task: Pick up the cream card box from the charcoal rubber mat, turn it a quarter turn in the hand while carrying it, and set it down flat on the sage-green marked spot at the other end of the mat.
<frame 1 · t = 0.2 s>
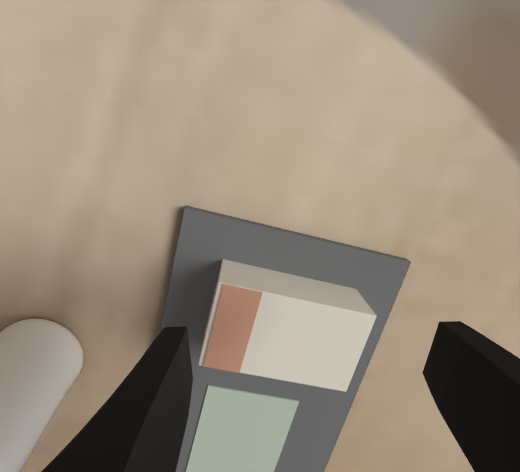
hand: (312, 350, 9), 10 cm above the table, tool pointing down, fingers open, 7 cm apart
mat: (255, 380, 22), on the table
card box: (280, 310, 20), point 1 cm above the table, touching mat
white cylinder: (46, 348, 21), on the table
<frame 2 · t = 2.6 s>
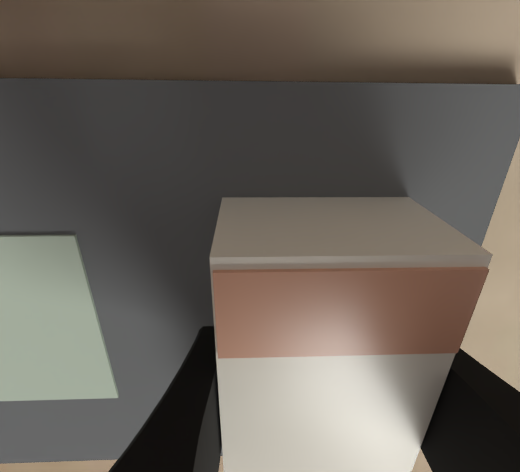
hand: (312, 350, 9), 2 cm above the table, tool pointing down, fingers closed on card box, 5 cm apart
mat: (123, 313, 11), on the table
card box: (305, 322, 10), point 1 cm above the table, touching gripper, mat
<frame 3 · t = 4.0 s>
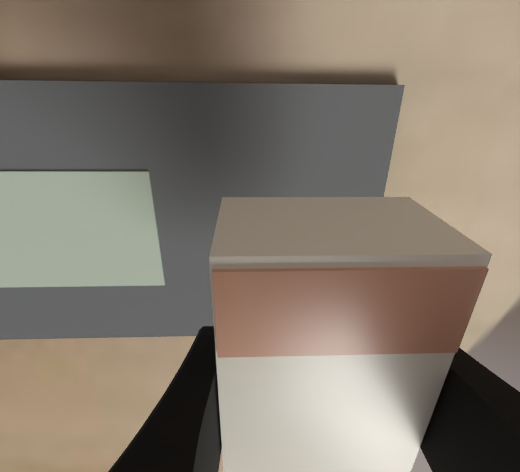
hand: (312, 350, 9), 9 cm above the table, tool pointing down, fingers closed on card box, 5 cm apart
mat: (170, 227, 17), on the table
card box: (305, 322, 10), point 8 cm above the table, touching gripper
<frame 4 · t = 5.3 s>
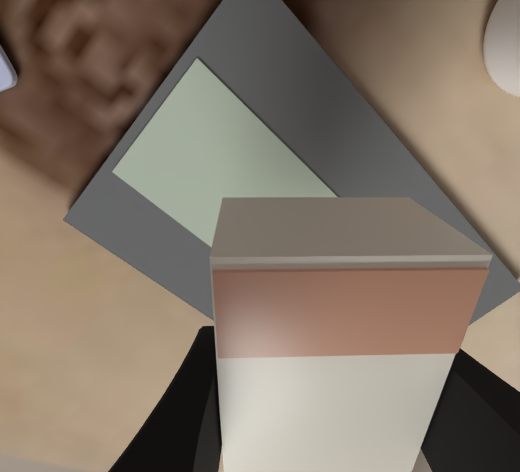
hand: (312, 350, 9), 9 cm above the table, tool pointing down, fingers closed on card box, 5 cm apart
mat: (310, 251, 18), on the table
card box: (305, 322, 10), point 8 cm above the table, touching gripper
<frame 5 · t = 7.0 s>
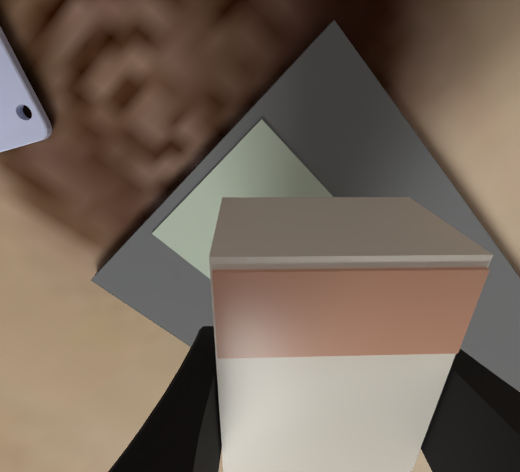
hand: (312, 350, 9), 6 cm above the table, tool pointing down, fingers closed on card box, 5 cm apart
mat: (357, 316, 16), on the table
card box: (305, 322, 10), point 5 cm above the table, touching gripper
when the fingers open (3 cm above the table, at t = 8.2 s): card box drops 1 cm, resting on mat.
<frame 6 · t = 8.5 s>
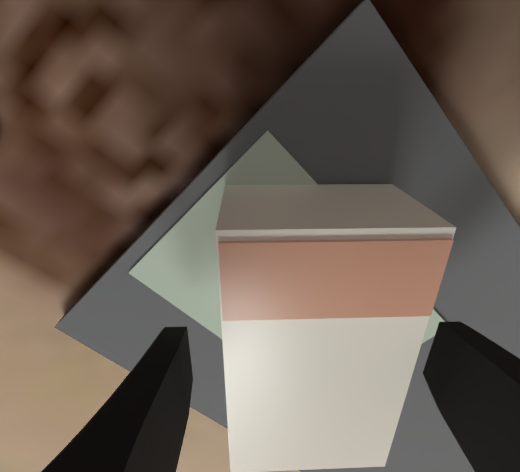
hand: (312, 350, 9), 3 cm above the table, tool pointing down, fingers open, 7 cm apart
mat: (380, 362, 14), on the table
card box: (300, 300, 11), point 1 cm above the table, touching mat
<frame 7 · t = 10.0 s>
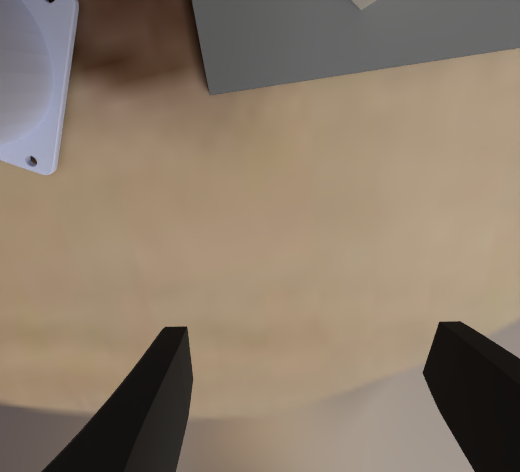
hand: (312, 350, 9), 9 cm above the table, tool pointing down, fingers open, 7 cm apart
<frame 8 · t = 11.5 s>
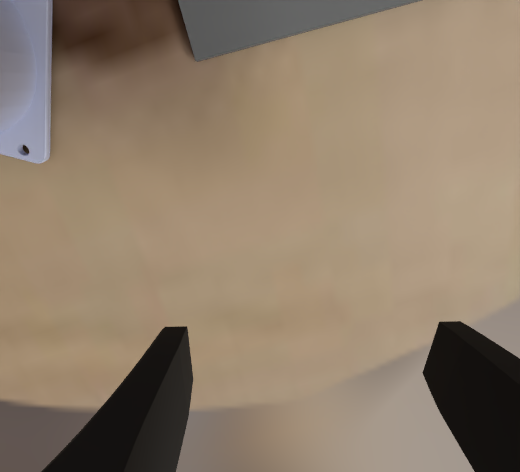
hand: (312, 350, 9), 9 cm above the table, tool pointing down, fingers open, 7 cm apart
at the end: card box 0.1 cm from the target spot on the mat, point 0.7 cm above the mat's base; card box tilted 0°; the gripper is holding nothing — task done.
